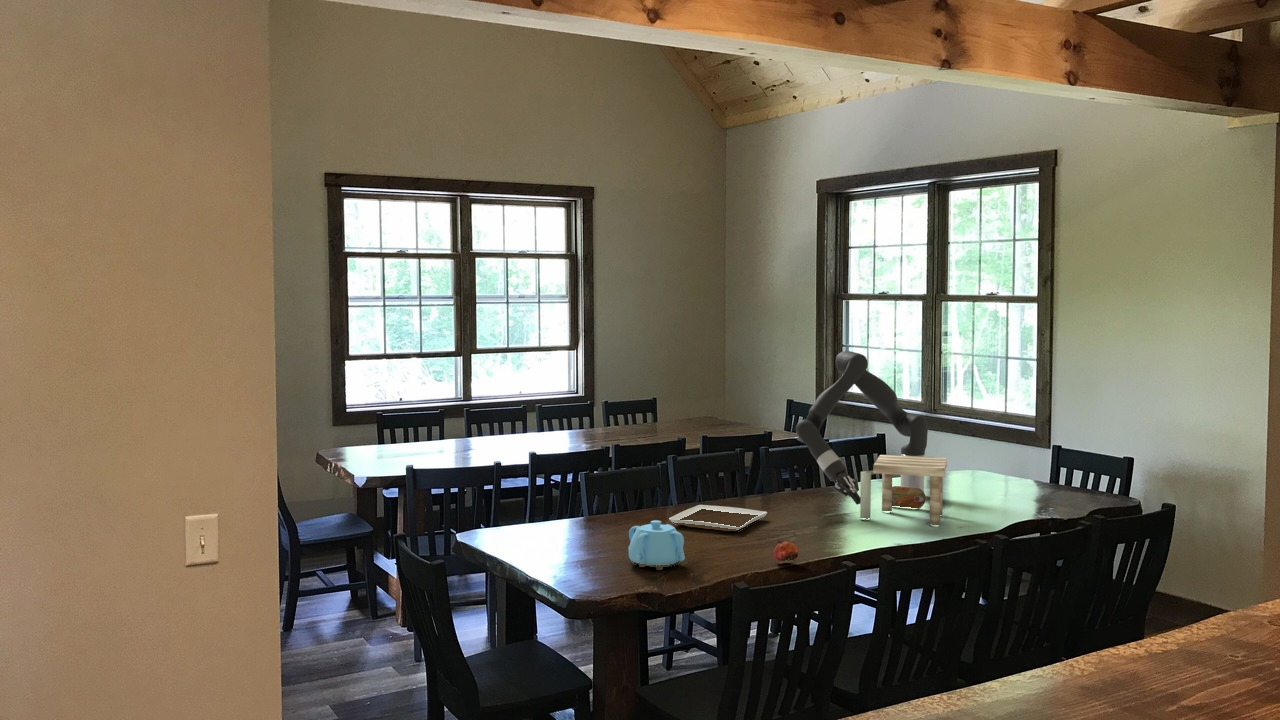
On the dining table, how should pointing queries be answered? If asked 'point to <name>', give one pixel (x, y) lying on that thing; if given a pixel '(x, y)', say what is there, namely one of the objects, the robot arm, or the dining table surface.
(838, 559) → the dining table surface
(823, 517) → the dining table surface
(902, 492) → the tin
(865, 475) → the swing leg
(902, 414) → the robot arm
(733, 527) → the square plate
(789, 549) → the pomegranate
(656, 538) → the decorative pot
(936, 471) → the stool
